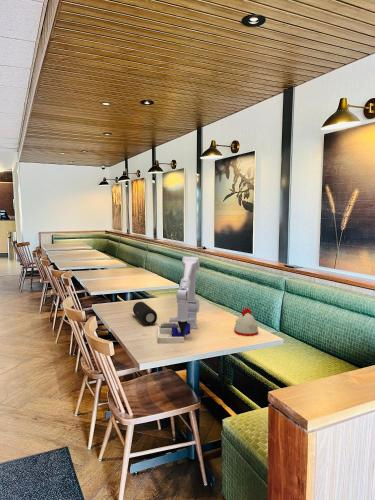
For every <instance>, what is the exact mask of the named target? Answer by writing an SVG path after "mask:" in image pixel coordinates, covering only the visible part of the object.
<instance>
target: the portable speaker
mask: <svg viewBox="0 0 375 500" xmlns="http://www.w3.org/2000/svg"><path fill="white" fill-rule="evenodd" d="M132 312H133V314H134V315H135V316H136V317H137V318H138V319H139V320H140V321H141V322H142V323H143V324H145V325H147V326H150V325H151V326H152V325H154V324H155V323H157V320H158V315H157V312H156V311H155V310H154V309H153V308H152V307H150V306H149V305H148V304H146V303H145V302H144V301H137V302H136V303H135V304H134V305H133V307H132Z"/></svg>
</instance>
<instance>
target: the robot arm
mask: <svg viewBox="0 0 375 500" xmlns="http://www.w3.org/2000/svg"><path fill="white" fill-rule="evenodd" d="M200 260H201V259H200V257H199V256H186V255H184V256H183V257H182V259H181V263H182V267H183V269H184V271H183V277H182V278H181V279H180V283H179V288H178V290H176V303H177V317H169V319H168V323H178V325H179V327H180V330H181V335H184V331H185V328H186V326H187V323H189V324H190V329H199V328H198V325H197V315H198V314H197V313H199V312H200V300H199V299H198V298H197V297H196V281H197V280H196V279H197V278H196V277H197V276H196V275H197V271H198V270H200V263H201V261H200Z"/></svg>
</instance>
